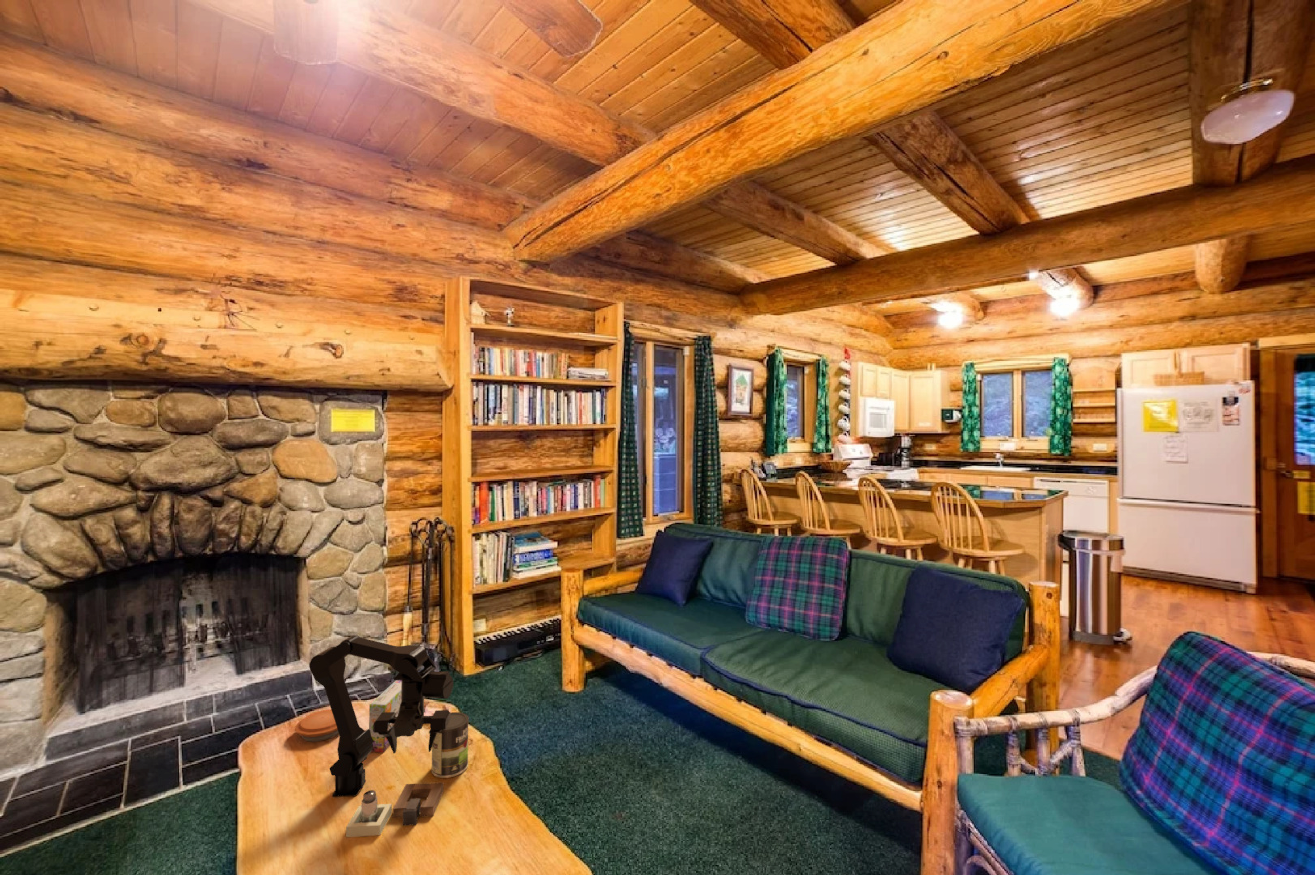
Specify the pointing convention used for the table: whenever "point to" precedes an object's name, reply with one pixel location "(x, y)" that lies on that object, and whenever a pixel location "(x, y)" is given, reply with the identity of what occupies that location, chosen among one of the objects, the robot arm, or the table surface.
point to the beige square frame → (369, 828)
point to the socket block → (419, 791)
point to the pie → (317, 726)
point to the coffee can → (451, 747)
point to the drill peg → (369, 807)
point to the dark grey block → (412, 812)
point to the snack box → (384, 703)
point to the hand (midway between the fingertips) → (412, 751)
